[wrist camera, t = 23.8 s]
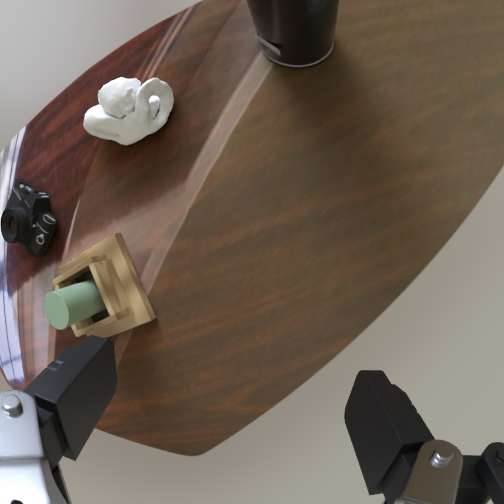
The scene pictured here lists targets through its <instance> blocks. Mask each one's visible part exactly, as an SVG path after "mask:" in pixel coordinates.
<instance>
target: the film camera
mask: <svg viewBox="0 0 504 504" xmlns="http://www.w3.org/2000/svg"><path fill="white" fill-rule="evenodd" d="M9 195H10V196H8V201H7V204H6V207H5V210H4V212H3V214H2V217H1V232H2V235H3V238H4V240H5V241H6V242H7V243H16V242H19V243H21V244H23V245H24V246H26V247H27V249H28V250H29V251H30V253H31V254H32V255H33V256H34V257H35V258H39V257H43V256H44V255H45V254H46V250H47V248H48V245H49V243H50V240H51V238H52V236H53V233H55V231H56V226H57V221H56V218H55V217H54V216H53V215H52V214H51V213H50V212H49V198H48V196H47V195H46V193H39V191H38V190H37V189H36V188H35V186H32V184H31V183H29V182H26V181H25V180H23V179H16V180H15V182H14V185H13V188H12V190H11V191H10V193H9Z"/></svg>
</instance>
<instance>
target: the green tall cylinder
mask: <svg viewBox="0 0 504 504" xmlns="http://www.w3.org/2000/svg"><path fill="white" fill-rule="evenodd" d="M43 307H44V312H45V315H46V318H47V320H48V321H49V323H50V324H51V325H52V326H53V327H54V328H56V329H59V330H62V329H65V328H67V327H69V326H71V325H73V324H75V323H78V322H80V321H82V320H84V319H86V318H88V317H90V316H92V315H94V314H97V313H99V312H101V311H103V310H105V309H107V308H106V305H105V303H104V301H103V299H102V296H101V294H100V292H99V289H98V287H97V284H96V282H95V280H94V278H93V279H90V280H87V281H84V282H80V283H77V284H74V285H71V286H68V287H64V288H61V289H58V290H55V291H52V292H49V293H48V294H47V295H46V296H45V298H44V302H43Z"/></svg>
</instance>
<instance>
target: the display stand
mask: <svg viewBox="0 0 504 504" xmlns="http://www.w3.org/2000/svg"><path fill="white" fill-rule="evenodd" d="M59 270H60V273H61V275H60V276H58V277H57V278H55V279H54V280H52V281H53V283H54V286H55V289H56V290H58V289H61V288H64V287H68V286H71V285H74V284H77V283H80V282H84V281H87V280H90V279H93V278H94V280H95V282H96V284H97V287H98V289H99V292H100V294H101V296H102V299H103V301H104V303H105V305H106V308H107V309H105V310H103V311H101V312H99V313H97V314H94V315H92V316H90V317H88V318H86V319H84V320H82V321H80V322H78V323H75V324H73V325H71V327H72V329H73V331H74V333H75V335H76V337H79V336H81V335H84V334H87V336H89V335H94V336H98V337H102V338H107V337H110V336H113V335H115V334H118V333H121V332H123V331H126V330H129V329H131V328H134V327H137V326H139V325H142V324H144V323H147V322H150V321H152V320H153V319H155V318H156V315H155V313H154V311H153V309H152V307H151V304H150V302H149V300H148V298H147V296H146V293H145V291H144V289H143V287H142V284H141V282H140V280H139V278H138V275H137V273H136V271H135V268H134V266H133V263H132V261H131V259H130V256H129V254H128V251H127V249H126V246H125V244H124V241H123V239H122V236H121V233H115V234H113V235H111V236H109V237H107V238H106V239H104V240H102V241H101V242H99V243H97V244H96V245H94V246H93V247H91V248H89V249H88V250H86V251H84V252H83V253H81V254H80V255H78V256H76V257H75V258H73V259H72V260H70V261H69V262H67V263H65V264H64V265H62V266H61V267H59Z"/></svg>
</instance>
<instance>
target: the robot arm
mask: <svg viewBox="0 0 504 504" xmlns="http://www.w3.org/2000/svg"><path fill="white" fill-rule="evenodd" d="M247 3H248V6H249V9H250V12H251V15H252V19H253V22H254V25H255V28H256V32H257V35H256V34H255V33H253V34H254V37H255V38H256V39H257V40H259V45H260V48H261V50H262V52H263V53H264V54H265V56H266V57H267V58H268V59H270V60H271V61H273V62H274V63H276V64H278V65H281V66H284V67H287V68H295V69H301V68H308V67H312V66H315V65H317V64H319V63H321V62H323V61H324V60H325V59H326V58H327V57H328V56H329V55H330V54H331V52H332V50H333V47H334V39H335V38H334V34H335V28H336V20H337V12H338V3H339V0H247ZM116 386H117V373H116V364H115V353H114V344H113V341H112V340H110V339H106V338H102V337H98V336H94V335H89V336H88V337H87V338H86V339H85V340H84V341H83V342H82V343H81V344H80V345H79V346H72V347H70V348H68V349H66V350H64V351H62V352H61V353H60V354H59V355H58V356H57V357H56V358H55V359H54V361H52V362H51V363H50V364H49V365H48V366H47V368H45V369H44V370H43V371H42V372H41V373H40V374H39V375H38V376H37V377H36V378H35V379H34V380H33V381H32V383H31V384H30V385H29V386H28V387H27V388H26V389H25V390H24V391H19V390H8V391H5V392H2V393H0V504H72V503H71V500H70V497H69V494H68V491H67V488H66V485H65V482H64V478H63V475H62V471H61V468H60V465H59V461H60V459H61V458H62V456H64V457H67V458H70V459H72V460H74V461H76V459H77V457H78V456H79V454H80V452H81V450H82V448H83V446H84V445H85V443H86V441H87V440H88V438H89V436H90V434H91V433H92V431H93V429H94V428H95V426H96V424H97V422H98V421H99V419H100V417H101V416H102V414H103V412H104V411H105V409H106V407H107V406H108V404H109V402H110V400H111V399H112V397H113V395H114V393H115V390H116ZM344 418H345V424H346V427H347V430H348V432H349V435H350V438H351V441H352V444H353V447H354V450H355V453H356V456H357V459H358V462H359V465H360V468H361V471H362V474H363V477H364V480H365V483H366V486H367V489H368V492H369V495H375V494H381V493H383V494H384V496H385V499H384V500H383V502H382V503H381V504H486V503H487V502H488V501H489V500H490V499H492V501H493V503H494V504H504V443H501V442H495V443H491V444H489V445H488V447H486V449H485V450H484V452H483V453H482V454H481V456H472V455H462V454H461V452H460V450H459V449H458V448H457V447H456V446H454V445H453V444H451V443H449V442H447V441H443V440H435V439H434V437H433V435H432V434H431V432H430V431H429V429H428V427H427V426H426V424H425V423H424V421H423V419H422V418H421V416H420V415H419V413H417V410H416V408H415V407H414V405H412V402H411V401H410V399H409V397H408V396H407V394H406V393H405V392H404V391H402V390H401V389H400V388H399V387H397V386H396V385H395V384H391V383H390V381H389V380H388V378H387V376H386V375H385V374H384V372H383V371H381V370H361V371H359V373H358V374H357V377H356V379H355V382H354V385H353V388H352V391H351V393H350V396H349V399H348V402H347V404H346V408H345V415H344Z"/></svg>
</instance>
